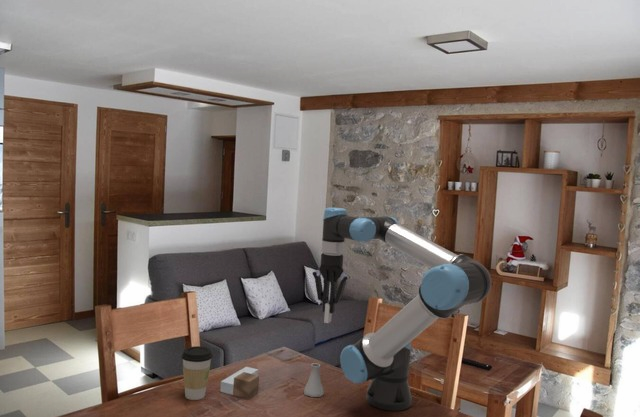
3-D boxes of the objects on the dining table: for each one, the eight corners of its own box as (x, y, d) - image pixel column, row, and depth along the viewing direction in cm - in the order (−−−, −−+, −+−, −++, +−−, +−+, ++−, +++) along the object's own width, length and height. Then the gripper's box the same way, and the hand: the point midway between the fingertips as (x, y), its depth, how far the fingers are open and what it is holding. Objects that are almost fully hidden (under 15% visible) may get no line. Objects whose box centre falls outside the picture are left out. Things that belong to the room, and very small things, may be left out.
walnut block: (258, 393, 180) (259, 375, 180) (248, 399, 175) (249, 381, 174) (242, 389, 183) (243, 372, 182) (233, 395, 177) (234, 377, 177)
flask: (322, 399, 179) (324, 369, 178) (301, 396, 180) (303, 366, 180) (326, 390, 186) (328, 362, 185) (305, 387, 187) (307, 359, 187)
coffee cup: (216, 394, 177) (219, 349, 176) (197, 405, 168) (200, 358, 167) (192, 387, 181) (194, 343, 180) (173, 397, 172) (175, 351, 171)
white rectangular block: (257, 379, 192) (258, 369, 192) (233, 395, 177) (233, 384, 177) (245, 376, 194) (246, 366, 194) (220, 391, 179) (220, 381, 179)
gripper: (354, 254, 182) (349, 322, 184) (319, 249, 188) (314, 316, 189) (346, 257, 175) (341, 328, 177) (310, 252, 181) (305, 321, 182)
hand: (327, 321), depth 183 cm, fingers closed
